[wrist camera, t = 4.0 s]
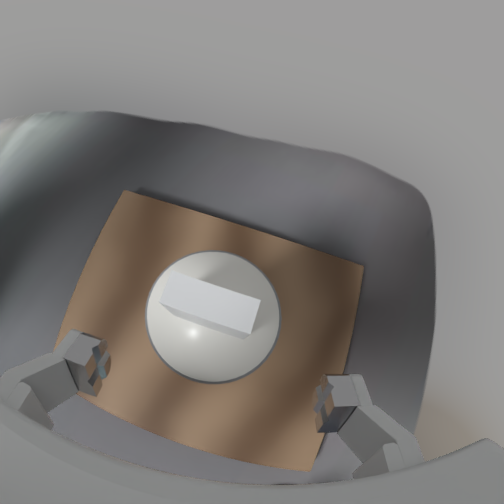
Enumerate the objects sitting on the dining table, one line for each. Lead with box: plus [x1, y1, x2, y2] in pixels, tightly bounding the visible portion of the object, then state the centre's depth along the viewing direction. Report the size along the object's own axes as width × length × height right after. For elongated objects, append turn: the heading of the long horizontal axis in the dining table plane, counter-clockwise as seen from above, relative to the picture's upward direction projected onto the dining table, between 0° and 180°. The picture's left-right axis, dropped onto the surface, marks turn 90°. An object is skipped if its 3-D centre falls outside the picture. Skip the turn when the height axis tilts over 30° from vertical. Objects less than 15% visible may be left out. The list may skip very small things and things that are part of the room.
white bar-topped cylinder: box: [145, 250, 282, 384], centre depth 12 cm, size 5×5×11 cm
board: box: [53, 190, 364, 472], centre depth 18 cm, size 20×16×1 cm
